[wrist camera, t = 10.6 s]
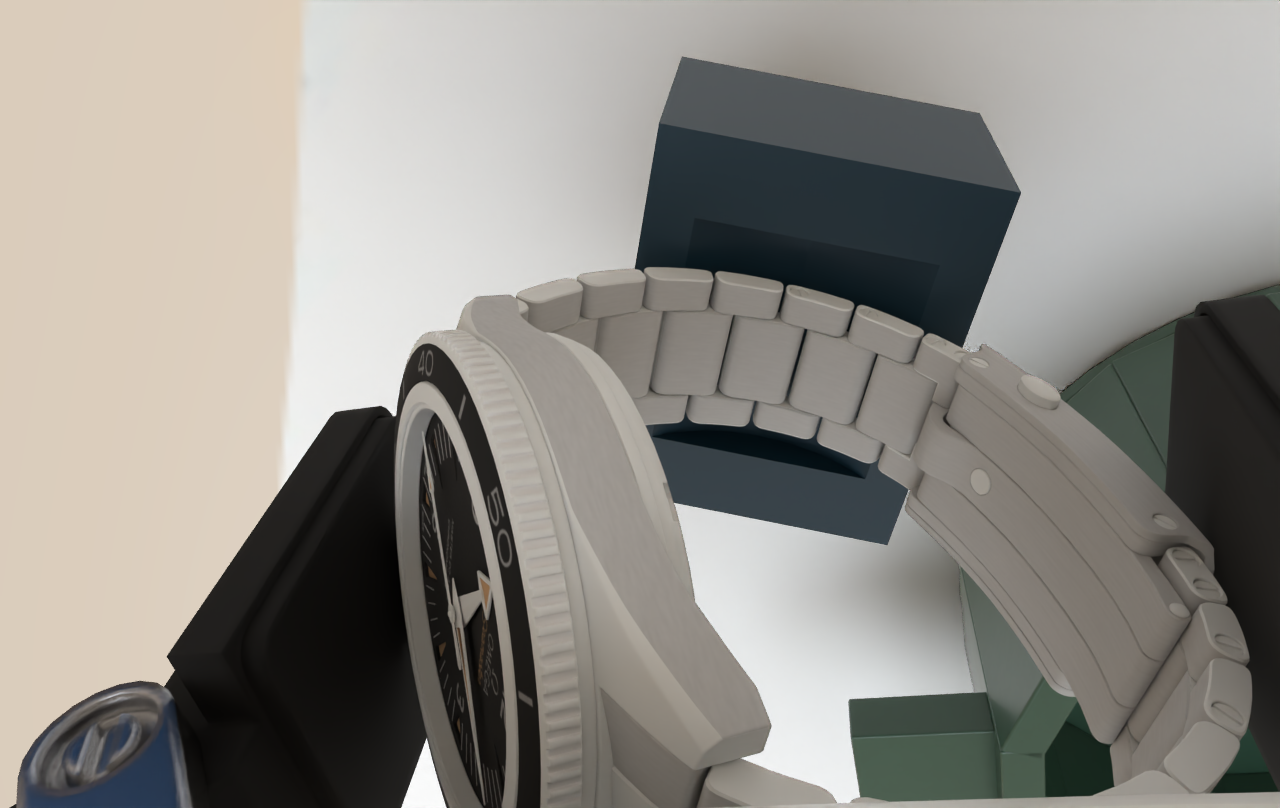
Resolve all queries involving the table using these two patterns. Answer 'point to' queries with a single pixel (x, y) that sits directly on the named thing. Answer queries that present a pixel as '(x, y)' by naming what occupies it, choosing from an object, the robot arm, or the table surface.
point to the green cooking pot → (1002, 667)
